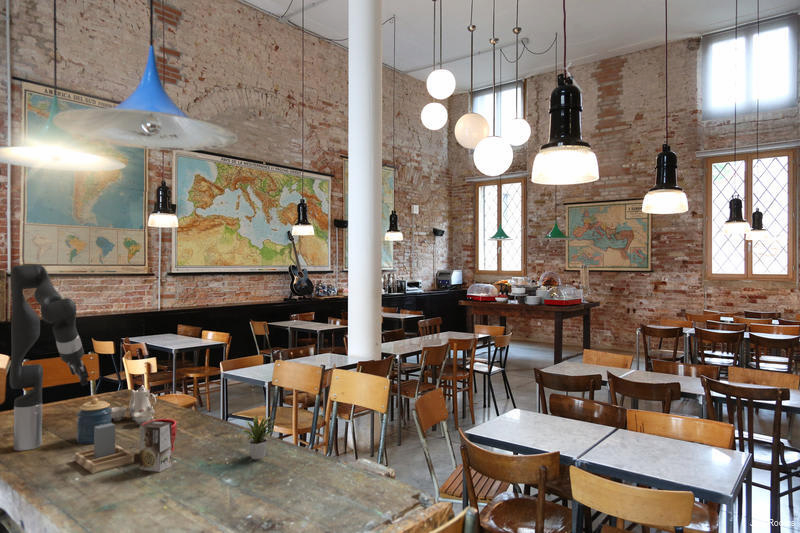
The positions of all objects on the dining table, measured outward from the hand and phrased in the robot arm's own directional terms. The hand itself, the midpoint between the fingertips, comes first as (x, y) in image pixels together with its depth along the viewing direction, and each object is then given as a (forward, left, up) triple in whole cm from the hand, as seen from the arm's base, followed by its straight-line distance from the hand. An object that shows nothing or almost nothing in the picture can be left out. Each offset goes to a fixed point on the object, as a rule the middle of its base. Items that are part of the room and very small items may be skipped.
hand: (80, 379), depth 198 cm
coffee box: (+33, +14, -30) cm, 47 cm away
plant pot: (+20, +21, -30) cm, 42 cm away
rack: (+13, +4, -30) cm, 33 cm away
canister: (-17, +11, -30) cm, 36 cm away
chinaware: (-31, +35, -30) cm, 56 cm away
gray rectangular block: (+13, +4, -29) cm, 32 cm away
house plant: (+53, +44, -30) cm, 75 cm away
